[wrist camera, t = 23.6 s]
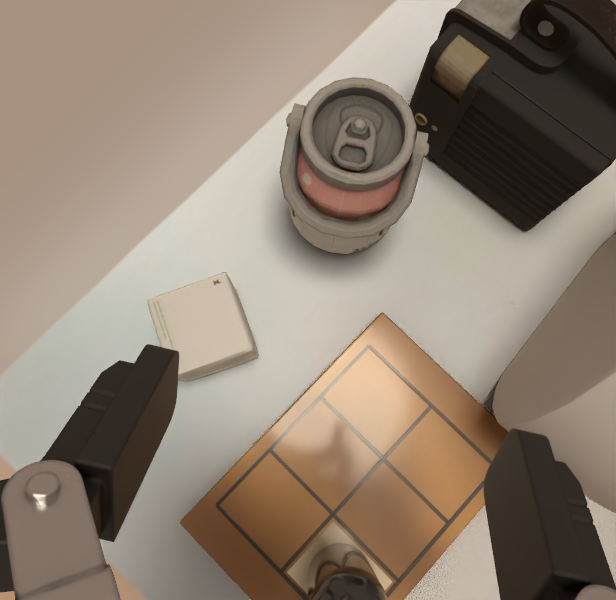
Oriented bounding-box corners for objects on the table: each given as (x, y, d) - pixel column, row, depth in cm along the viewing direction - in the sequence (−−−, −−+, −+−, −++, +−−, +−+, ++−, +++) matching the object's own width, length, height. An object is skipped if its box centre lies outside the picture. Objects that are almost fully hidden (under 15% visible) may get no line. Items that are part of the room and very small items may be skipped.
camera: (468, 41, 46) (549, -133, 32) (605, 142, 45) (757, 8, 30) (387, 131, 44) (433, -10, 30) (527, 239, 43) (649, 148, 28)
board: (329, 676, 36) (331, 686, 35) (182, 519, 38) (178, 522, 37) (523, 450, 40) (531, 451, 38) (379, 314, 41) (382, 311, 40)
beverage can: (380, 282, 42) (414, 231, 30) (272, 257, 42) (263, 196, 30) (404, 171, 44) (444, 81, 32) (300, 147, 44) (302, 50, 32)
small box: (161, 311, 41) (144, 297, 36) (235, 286, 42) (228, 269, 37) (185, 384, 40) (170, 380, 35) (260, 357, 41) (256, 349, 36)
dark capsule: (308, 617, 36) (312, 673, 28) (305, 544, 37) (308, 579, 29) (376, 613, 36) (398, 667, 28) (371, 540, 37) (392, 574, 29)
